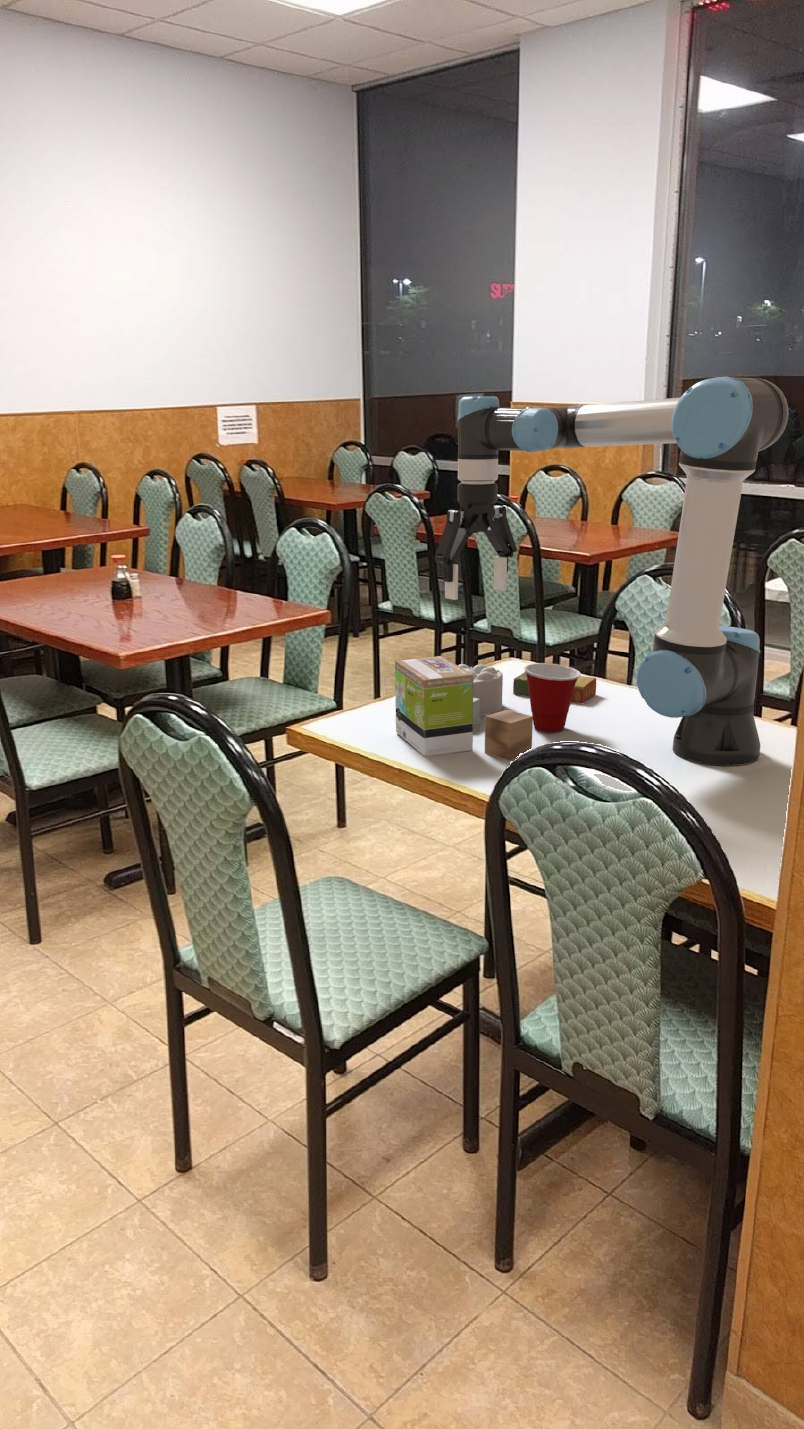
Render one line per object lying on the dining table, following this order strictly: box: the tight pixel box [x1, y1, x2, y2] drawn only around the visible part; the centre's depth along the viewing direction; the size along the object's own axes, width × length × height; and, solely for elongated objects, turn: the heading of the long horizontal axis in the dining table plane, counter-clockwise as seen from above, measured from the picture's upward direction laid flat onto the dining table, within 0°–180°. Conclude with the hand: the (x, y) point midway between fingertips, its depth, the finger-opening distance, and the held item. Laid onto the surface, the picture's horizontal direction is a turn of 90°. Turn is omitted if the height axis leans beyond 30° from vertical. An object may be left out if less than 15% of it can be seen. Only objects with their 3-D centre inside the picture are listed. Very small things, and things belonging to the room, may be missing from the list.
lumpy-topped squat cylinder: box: [457, 663, 504, 717], centre depth 222 cm, size 10×13×9 cm
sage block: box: [473, 698, 480, 727], centre depth 212 cm, size 5×5×5 cm
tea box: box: [394, 655, 474, 758], centre depth 199 cm, size 15×10×15 cm
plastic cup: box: [523, 662, 582, 734], centre depth 208 cm, size 11×11×12 cm
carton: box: [512, 671, 597, 705], centre depth 233 cm, size 8×16×4 cm, turn 62°
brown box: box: [484, 709, 534, 761], centre depth 195 cm, size 6×6×7 cm
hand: (476, 594), depth 209 cm, fingers open, 13 cm apart
